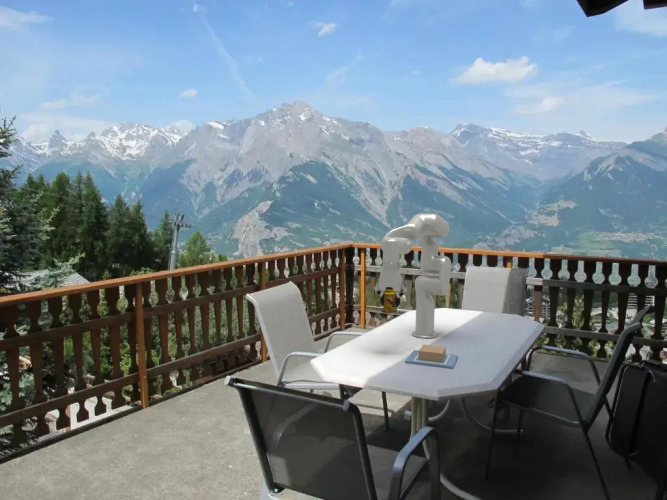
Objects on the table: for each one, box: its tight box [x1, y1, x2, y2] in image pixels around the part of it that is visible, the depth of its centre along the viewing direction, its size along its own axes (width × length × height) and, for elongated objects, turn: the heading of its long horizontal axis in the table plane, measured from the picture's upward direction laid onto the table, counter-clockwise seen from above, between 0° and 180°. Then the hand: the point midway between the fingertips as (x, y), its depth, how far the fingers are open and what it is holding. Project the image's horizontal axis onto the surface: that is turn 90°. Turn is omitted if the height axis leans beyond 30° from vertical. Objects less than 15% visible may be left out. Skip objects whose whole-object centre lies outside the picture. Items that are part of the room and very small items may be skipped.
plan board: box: [404, 344, 459, 370], centre depth 221 cm, size 18×20×5 cm
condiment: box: [377, 287, 400, 315], centre depth 229 cm, size 7×8×12 cm
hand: (390, 305), depth 229 cm, fingers closed on condiment, 6 cm apart
